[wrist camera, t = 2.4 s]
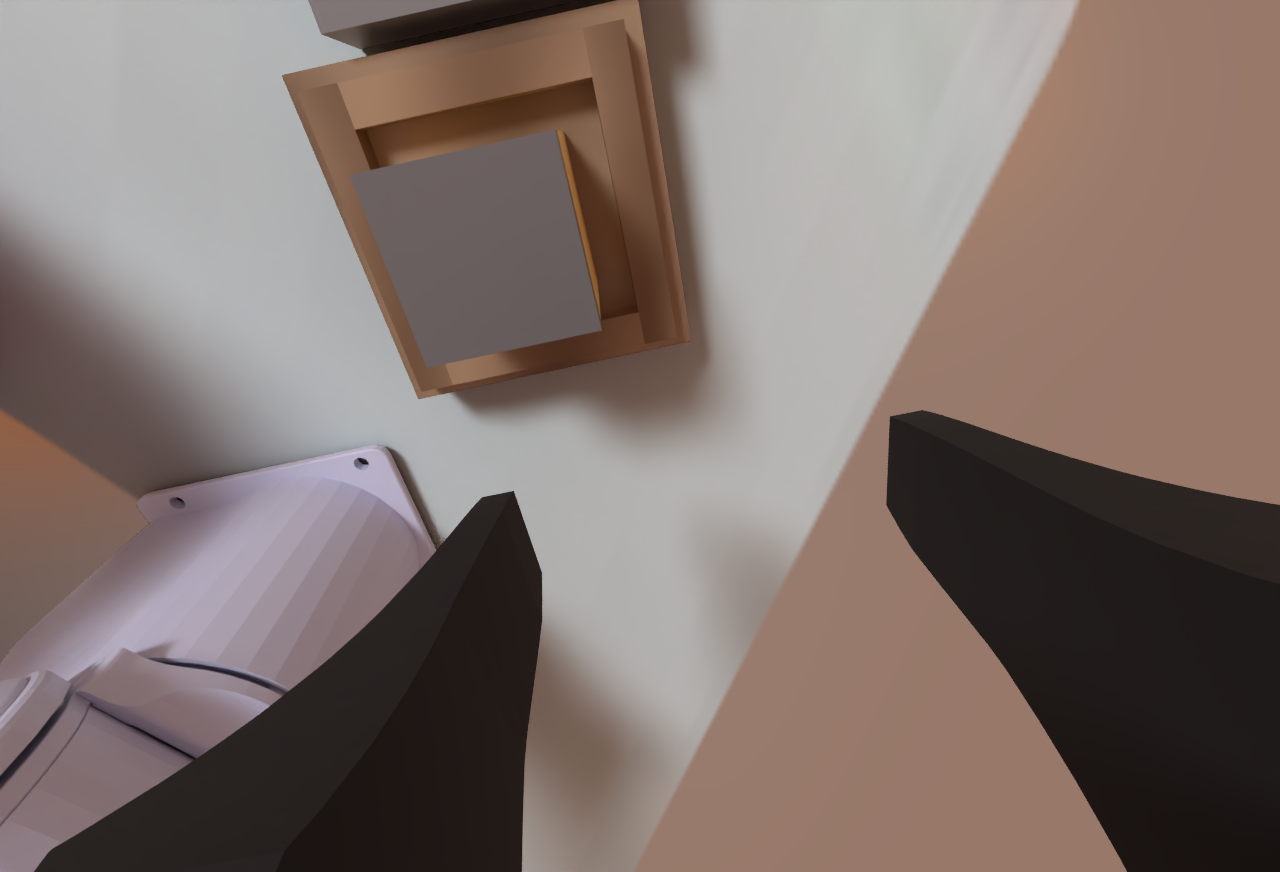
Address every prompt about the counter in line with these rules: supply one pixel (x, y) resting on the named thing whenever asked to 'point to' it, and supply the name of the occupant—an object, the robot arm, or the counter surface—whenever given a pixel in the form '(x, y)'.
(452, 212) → the plug
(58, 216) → the counter surface
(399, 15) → the lower socket
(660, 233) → the upper socket
